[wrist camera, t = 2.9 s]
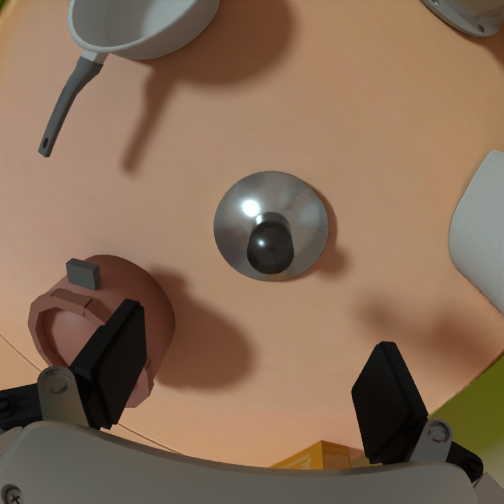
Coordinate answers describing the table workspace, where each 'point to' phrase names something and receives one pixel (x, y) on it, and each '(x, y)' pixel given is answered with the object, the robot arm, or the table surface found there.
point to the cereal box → (318, 457)
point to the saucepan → (124, 40)
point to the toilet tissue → (482, 231)
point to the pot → (100, 313)
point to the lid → (271, 226)
